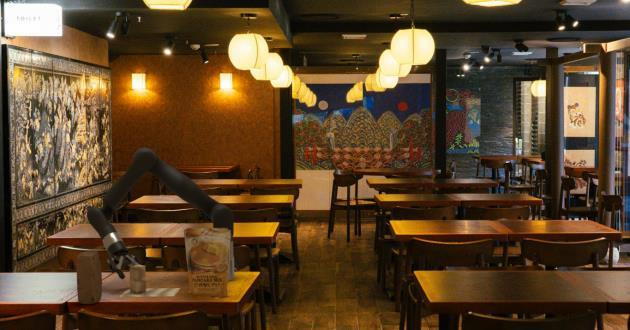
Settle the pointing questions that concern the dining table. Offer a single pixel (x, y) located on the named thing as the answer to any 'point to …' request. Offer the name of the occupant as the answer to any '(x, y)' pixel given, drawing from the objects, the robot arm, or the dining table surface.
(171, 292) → the birch board
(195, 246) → the pancake mix bag
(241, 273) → the dining table surface
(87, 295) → the block
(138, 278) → the tan tall block
